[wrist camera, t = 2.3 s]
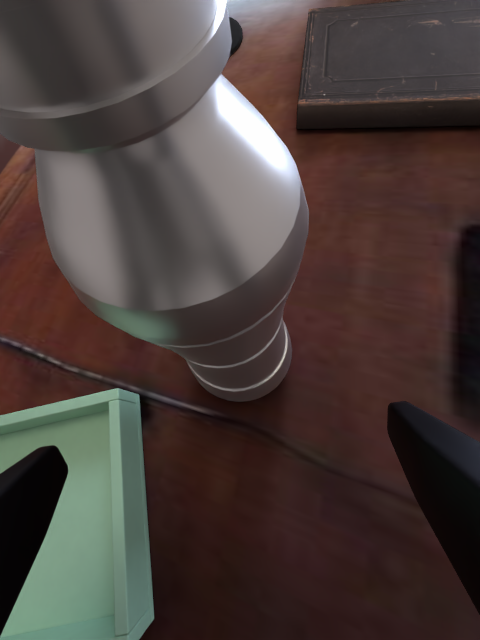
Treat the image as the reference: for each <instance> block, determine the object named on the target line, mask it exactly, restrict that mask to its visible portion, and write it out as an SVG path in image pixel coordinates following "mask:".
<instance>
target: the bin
mask: <svg viewBox="0 0 480 640" xmlns="http://www.w3.org/2000/svg"><path fill="white" fill-rule="evenodd" d="M50 445H54V446H56V447H58V449H59V450H60V452H61V454H62V456H63V458H64V460H65V461H66V463H67V465H68V475H67V478H66V481H65V484H64V487H63V490H62V492H61V495H60V498H59V501H58V504H57V506H56V509H55V512H54V515H53V518H52V520H51V523H50V526H49V529H48V531H47V534H46V536H45V539H44V541H43V543H42V546H41V548H40V550H39V552H38V554H37V557H36V559H35V561H34V563H33V565H32V568H31V570H30V572H29V574H28V576H27V579H26V581H25V583H24V585H23V587H22V590H21V592H20V594H19V596H18V599H17V601H16V603H15V605H14V607H13V610H12V612H11V614H10V616H9V618H8V621H7V623H6V625H5V627H4V629H3V632H2V634H1V636H0V640H139V639H140V638H141V636H142V635H143V634H144V632H145V631H146V629H147V628H148V627H149V625H150V623H152V621H153V620H154V606H153V591H152V576H151V562H150V547H149V532H148V517H147V503H146V488H145V473H144V459H143V444H142V429H141V415H140V400H139V395H138V394H135V393H132V392H128V391H125V390H122V389H119V388H117V389H112V390H108V391H104V392H99V393H95V394H91V395H87V396H82V397H78V398H74V399H69V400H65V401H61V402H57V403H52V404H48V405H44V406H40V407H35V408H31V409H27V410H22V411H18V412H14V413H10V414H5V415H1V416H0V474H1V473H2V472H4V471H5V470H6V469H8V468H9V467H11V466H12V465H14V464H15V463H17V462H18V461H20V460H21V459H22V458H24V457H25V456H27V455H28V454H30V453H31V452H33V451H34V450H36V449H37V448H39V447H42V446H50Z"/></svg>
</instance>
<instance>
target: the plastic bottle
mask: <svg viewBox="0 0 480 640" xmlns="http://www.w3.org/2000/svg"><path fill="white" fill-rule="evenodd" d="M231 44H232V37H231V30H230V23H229V15H228V8H227V1H226V0H0V134H2V135H3V136H4V137H5V138H7V139H8V140H9V141H12V142H15V143H17V144H20V145H23V146H25V147H28V148H34V149H35V160H36V172H37V185H38V198H39V205H40V210H41V214H42V219H43V223H44V228H45V232H46V237H47V241H48V244H49V247H50V250H51V254H52V257H53V259H54V261H55V262H56V264H57V265H58V267H59V268H60V270H61V272H62V273H63V275H64V276H65V278H66V279H67V281H68V283H69V284H70V286H71V287H72V289H73V290H74V292H75V293H76V295H77V296H78V298H79V300H80V301H81V302H82V303H83V304H84V305H85V306H86V307H88V308H89V309H90V310H91V311H92V312H93V313H94V314H95V315H96V316H98V317H100V318H101V319H103V320H105V321H107V322H108V323H110V324H112V325H114V326H115V327H117V328H119V329H121V330H123V331H125V332H127V333H129V334H131V335H132V336H134V337H137V338H140V339H142V340H145V341H148V342H151V343H153V344H156V345H159V346H161V347H164V348H167V349H169V350H172V351H174V352H176V353H177V354H179V355H180V356H182V357H183V358H185V359H186V361H187V363H188V366H189V368H190V370H191V372H192V373H193V375H194V377H195V378H196V379H197V381H198V382H199V383H200V385H201V386H203V387H204V388H205V389H206V390H207V391H208V392H210V393H211V394H213V395H215V396H217V397H219V398H222V399H225V400H228V401H236V402H242V401H251V400H255V399H258V398H261V397H263V396H265V395H267V394H268V393H270V392H271V391H272V390H274V389H275V388H276V387H277V386H278V385H279V384H280V383H281V381H282V380H283V379H284V378H285V376H286V374H287V372H288V370H289V367H290V363H291V359H292V346H291V340H290V336H289V333H288V330H287V328H286V325H285V323H284V321H283V318H282V316H283V311H284V305H285V302H286V300H287V297H288V295H289V292H290V290H291V288H292V285H293V283H294V280H295V277H296V275H297V274H298V270H299V267H300V263H301V259H302V256H303V252H304V248H305V243H306V239H307V236H308V223H309V211H308V206H307V202H306V198H305V194H304V190H303V187H302V183H301V180H300V176H299V173H298V169H297V166H296V163H295V162H294V160H293V158H292V156H291V154H290V152H289V150H288V148H287V147H286V146H285V144H284V143H283V142H282V140H281V139H280V138H279V137H278V135H277V134H276V133H275V131H274V130H273V129H272V128H271V126H270V125H269V124H268V122H267V121H266V120H265V119H264V117H263V116H262V115H261V114H260V113H259V112H258V111H257V109H256V108H255V107H254V106H253V105H252V104H251V103H250V102H249V101H248V100H247V99H246V98H245V97H244V96H243V95H242V94H241V93H240V92H239V91H238V90H237V89H236V88H235V87H234V86H233V85H232V84H231V83H230V82H229V81H228V80H227V79H226V78H225V77H224V76H223V75H222V74H221V73H222V71H223V69H224V67H225V65H226V63H227V61H228V59H229V55H230V50H231Z"/></svg>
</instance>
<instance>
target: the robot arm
mask: <svg viewBox="0 0 480 640" xmlns="http://www.w3.org/2000/svg"><path fill="white" fill-rule="evenodd" d="M387 430H388V434H389V437H390V440H391V442H392V445H393V447H394V449H395V452H396V454H397V456H398V459H399V461H400V463H401V466H402V468H403V470H404V473H405V475H406V477H407V480H408V482H409V484H410V487H411V489H412V491H413V493H414V496H415V498H416V500H417V502H418V504H419V506H420V507H421V509H422V511H423V513H424V515H425V517H426V518H427V520H428V522H429V524H430V526H431V527H432V529H433V531H434V533H435V535H436V537H437V538H438V540H439V542H440V544H441V546H442V547H443V549H444V551H445V553H446V555H447V556H448V558H449V560H450V562H451V564H452V566H453V567H454V569H455V571H456V573H457V575H458V576H459V578H460V580H461V582H462V584H463V586H464V587H465V589H466V591H467V593H468V595H469V596H470V598H471V600H472V602H473V604H474V605H475V607H476V609H477V611H478V613H479V615H480V442H478V441H476V440H475V439H473V438H471V437H469V436H467V435H466V434H464V433H462V432H460V431H459V430H457V429H455V428H453V427H451V426H450V425H448V424H446V423H444V422H442V421H441V420H439V419H437V418H435V417H434V416H432V415H430V414H428V413H426V412H425V411H423V410H421V409H419V408H418V407H416V406H414V405H412V404H410V403H408V402H406V401H401V402H393V403H390V404H389V405H388V421H387ZM67 475H68V465H67V463H66V461H65V460H64V458H63V456H62V454H61V452H60V450H59V449H58V447H56V446H54V445H50V446H42V447H39V448H37V449H36V450H34V451H33V452H31V453H30V454H28V455H27V456H25V457H24V458H22V459H21V460H20V461H18V462H17V463H15V464H14V465H12V466H11V467H9V468H8V469H6V470H5V471H4V472H2V473H1V474H0V636H1V634H2V632H3V629H4V627H5V625H6V623H7V621H8V618H9V616H10V614H11V612H12V610H13V607H14V605H15V603H16V601H17V599H18V596H19V594H20V592H21V590H22V587H23V585H24V583H25V581H26V579H27V576H28V574H29V572H30V570H31V568H32V565H33V563H34V561H35V559H36V557H37V554H38V552H39V550H40V548H41V546H42V543H43V541H44V539H45V536H46V534H47V531H48V529H49V526H50V523H51V520H52V518H53V515H54V512H55V509H56V506H57V504H58V501H59V498H60V495H61V492H62V490H63V487H64V484H65V481H66V478H67Z"/></svg>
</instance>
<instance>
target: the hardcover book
mask: <svg viewBox="0 0 480 640" xmlns="http://www.w3.org/2000/svg"><path fill="white" fill-rule="evenodd" d="M475 125H480V0H406V1H395V2H383V3H372V4H361V5H349V6H338V7H327V8H316V9H309V13H308V22H307V30H306V39H305V47H304V56H303V64H302V73H301V81H300V90H299V98H298V108H297V129H329V128H377V127H426V126H475Z"/></svg>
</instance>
